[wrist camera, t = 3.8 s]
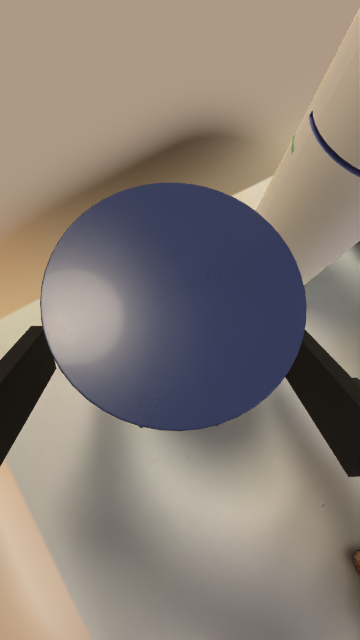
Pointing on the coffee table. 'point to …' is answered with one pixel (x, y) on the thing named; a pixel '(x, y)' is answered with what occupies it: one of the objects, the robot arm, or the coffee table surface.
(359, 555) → the bone
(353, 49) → the cylindrical container
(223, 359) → the jar lid
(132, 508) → the coffee table surface
